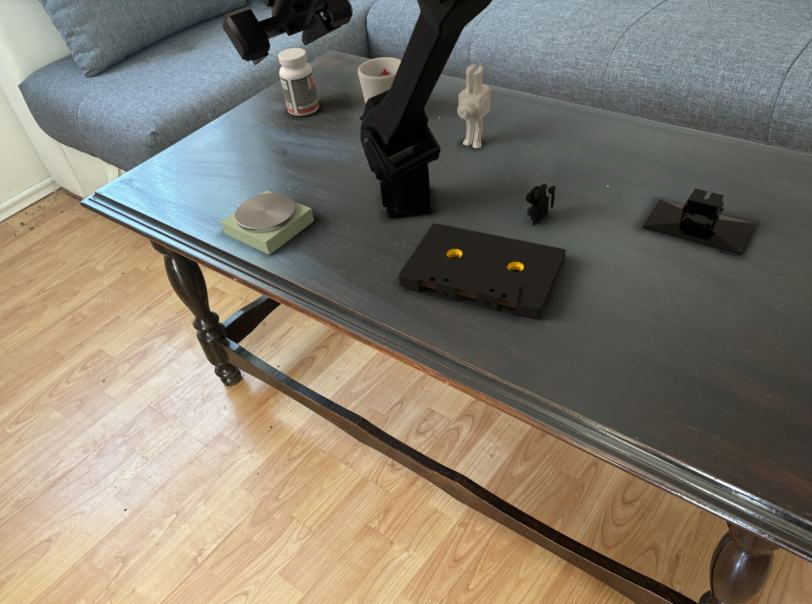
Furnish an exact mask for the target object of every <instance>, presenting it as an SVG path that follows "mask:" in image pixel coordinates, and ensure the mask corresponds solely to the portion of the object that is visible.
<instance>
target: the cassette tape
mask: <svg viewBox="0 0 812 604" xmlns="http://www.w3.org/2000/svg"><path fill="white" fill-rule="evenodd" d="M566 253H567V250H566V249H565V248H561V247H556V246H551V245H546V244H543V243H542V244H541V243H537V242H530V241H526V240H521V239H516V238H511V237H506V236H502V235H497V234H491V233H486V232H481V231H476V230H471V229H467V228H461V227H457V226H452V225H446V224H441V223H436V222H434V223H432V224H431V225H430V227H429V229H428V230H427V232H426V233H425V234H424V236H423V238H422V239H421V240H420V241H419V243H418V244H417V246H416V248H415V249H414V251H413V252H412V253H411V255H410V256H409V258H408V259H407V261H406V263H405V264H404V266H403V267H402V268H401V270H400V272H399V273H398V283H399V286H400V287H402V288H407V289H411V290H415V291H418V293H420V294H424V295H429V296H433V297H437V298H441V299H445V300H449V301H453V302H456V303H462V304H466V305H470V306H473V307H474V306H475V307H479V308H483V309H488V310H491V311H495V312H499V313H503V314H508V315H511V316H517V315H520V316H523V317H528V318H532V319H536V320H538V319H540V318H541V316H542V314H543V311H544V309H545V308H546V305H547V302H548V300H549V298H550V296H551V293H552V291H553V289H554V287H555V284H556V283H557V279H558V277H559V275H560V273H561V270H562V268H563V266H564V263H565V260H566ZM433 291H434V292H435V294H433V293H432V292H433ZM446 293H447V294H446ZM502 308H505V309H506V310H502Z"/></svg>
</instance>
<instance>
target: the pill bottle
mask: <svg viewBox="0 0 812 604" xmlns="http://www.w3.org/2000/svg"><path fill="white" fill-rule="evenodd" d="M278 61H279V62H278V63H279V64H280V65H281V67H280V68H279V71H278V73H279V79H280V82H281V83H280V84H281V88H282V91H283V97H284V101H285V105H286V109H287V112H288V113H289V114H290V115H292V116H295V117H307V116H309V115H312V114H314V113H315V112H317V111H318V110H319V108H320V102H319V101H320V100H319V96H318V92H317V87H316V81H315V77H314V76H315V75H314V71H313V67H312V65H311V64H310V63H308V62H307V61H308V56H307V51H306V49H303V48H302V47H291V48H287V49H284V50H282V51H280V52H279V53H278Z"/></svg>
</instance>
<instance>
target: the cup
mask: <svg viewBox="0 0 812 604" xmlns="http://www.w3.org/2000/svg"><path fill="white" fill-rule="evenodd" d="M401 60H402V59H399V58H396V57H391V56H383V57H375V58H371V59H369V60H366V61H364V62H363V63H361V64H360V65H359V67H358V68H357V74H358V79H359V83H360V87H361V92H362V95H363V99H364V103H365V104H366V102H367V100H368V99H369V98H371V97H373V96H375V95H378V94H380V93H382V92H384V91H387V90H389V89H390V87H391V85H392V82H393V80H394V77H395V75H396V72H397V70H398V67H399V65H400V62H401ZM365 104H364V105H365Z"/></svg>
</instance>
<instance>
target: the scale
mask: <svg viewBox="0 0 812 604" xmlns="http://www.w3.org/2000/svg"><path fill="white" fill-rule="evenodd" d="M314 221H315V219H314V214H313V210H312V208H311V207H309V206H307V205H304V204H302V203H299V202H297V201H294V200H293V199H292V198H291V197H290V196H289V195H286V194H283V193H278V192H277V193H276V192H272V191H270V190H265V191H264V192H262V193H261V194H257V195H254V196H252V197H250V198H247V199H246V200H245V201H243V202H241V203H240V204H239V205H238V206H237V208H236V210H235V211H234V212H233V213H231V214H230V215H228V216H227V217H225V218H224V219H223V220H221V221H220V223H221V226H222V229H223V231H224V234H225V235H226V236H228V237H229V238H232V239H234V240H237V241H238V242H240V243H242V244H245V245H247V246H249V247H252V248H253V249H255V250H258V251H260V252H261V253H264V254H266V255H268V256H270V255H272V254H273V253H274V252H275V251H277V250H278V249H280V248H281V247H282V246H283V245H285V244H286V243H287V242H289V241H290V240H291V239H293V238H294V237H296V236H297V235H298V234H299V233H301V232H302V231H303V230H305V229H306V228H308V226H310V225H311V224H312V223H314Z"/></svg>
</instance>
